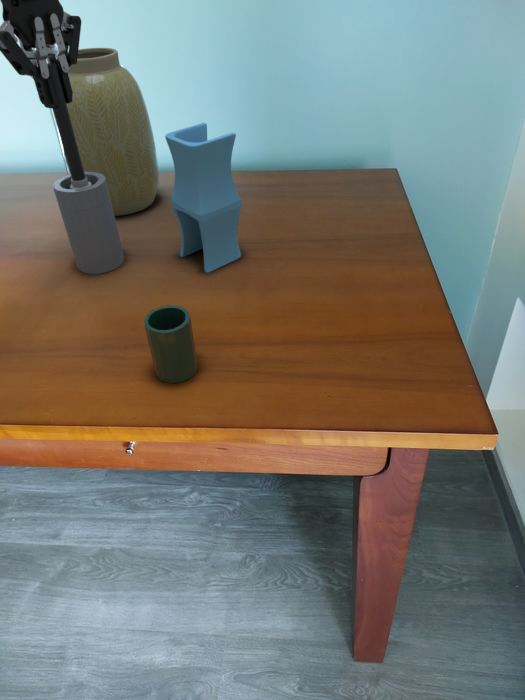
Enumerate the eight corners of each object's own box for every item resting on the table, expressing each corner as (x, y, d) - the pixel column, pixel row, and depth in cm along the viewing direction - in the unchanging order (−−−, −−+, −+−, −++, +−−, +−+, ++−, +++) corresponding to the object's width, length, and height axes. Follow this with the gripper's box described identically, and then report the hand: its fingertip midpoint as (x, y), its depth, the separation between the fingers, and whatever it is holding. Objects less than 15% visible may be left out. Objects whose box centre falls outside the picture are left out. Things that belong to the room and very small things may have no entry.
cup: (102, 278, 85) (79, 195, 76) (67, 267, 88) (41, 186, 79) (133, 256, 90) (115, 176, 81) (99, 246, 93) (79, 168, 84)
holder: (181, 388, 64) (171, 337, 59) (146, 374, 67) (134, 324, 62) (206, 362, 68) (198, 312, 63) (172, 350, 70) (163, 300, 65)
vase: (86, 228, 99) (42, 69, 81) (72, 195, 111) (31, 50, 94) (174, 209, 104) (150, 55, 86) (151, 179, 116) (126, 39, 99)
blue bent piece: (244, 255, 89) (236, 133, 76) (207, 273, 85) (192, 147, 72) (216, 239, 93) (204, 122, 81) (179, 255, 90) (160, 134, 77)
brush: (90, 227, 83) (47, 68, 68) (75, 223, 84) (30, 66, 69) (104, 219, 85) (65, 62, 70) (89, 215, 86) (48, 61, 72)
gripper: (39, -55, 68) (75, 90, 79) (-56, -47, 59) (-1, 115, 70) (82, -57, 65) (112, 95, 76) (-12, -48, 56) (39, 122, 67)
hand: (58, 104), depth 73 cm, fingers closed on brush, 2 cm apart
